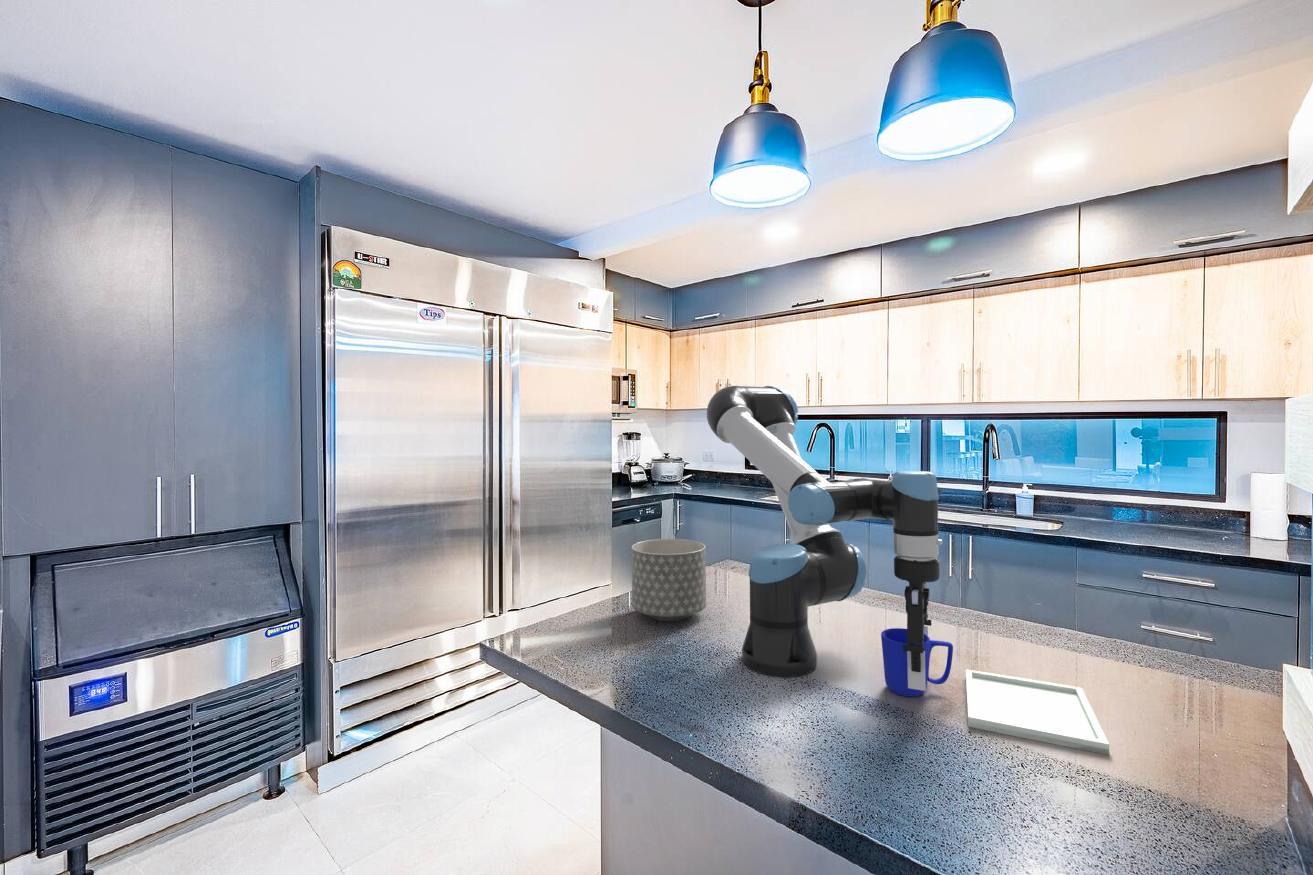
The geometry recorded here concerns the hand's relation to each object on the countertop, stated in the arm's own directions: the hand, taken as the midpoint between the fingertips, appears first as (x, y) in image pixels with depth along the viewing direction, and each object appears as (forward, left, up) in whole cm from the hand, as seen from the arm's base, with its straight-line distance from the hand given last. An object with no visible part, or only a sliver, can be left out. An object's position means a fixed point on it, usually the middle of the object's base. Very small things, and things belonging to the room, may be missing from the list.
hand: (918, 673), depth 103 cm
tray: (+17, 0, -3) cm, 17 cm away
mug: (0, 0, -4) cm, 4 cm away
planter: (-59, +18, -4) cm, 62 cm away
